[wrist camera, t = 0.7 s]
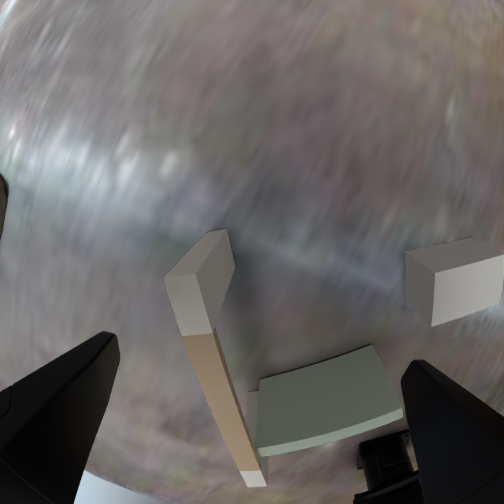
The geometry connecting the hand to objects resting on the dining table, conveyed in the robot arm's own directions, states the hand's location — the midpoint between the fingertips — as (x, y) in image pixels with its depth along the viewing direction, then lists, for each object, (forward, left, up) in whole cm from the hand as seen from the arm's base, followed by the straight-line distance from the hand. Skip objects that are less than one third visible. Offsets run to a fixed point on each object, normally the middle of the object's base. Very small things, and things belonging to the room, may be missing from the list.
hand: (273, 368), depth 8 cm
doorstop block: (-4, -13, -14) cm, 20 cm away
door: (-12, -2, -13) cm, 18 cm away
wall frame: (-7, +4, -14) cm, 16 cm away
